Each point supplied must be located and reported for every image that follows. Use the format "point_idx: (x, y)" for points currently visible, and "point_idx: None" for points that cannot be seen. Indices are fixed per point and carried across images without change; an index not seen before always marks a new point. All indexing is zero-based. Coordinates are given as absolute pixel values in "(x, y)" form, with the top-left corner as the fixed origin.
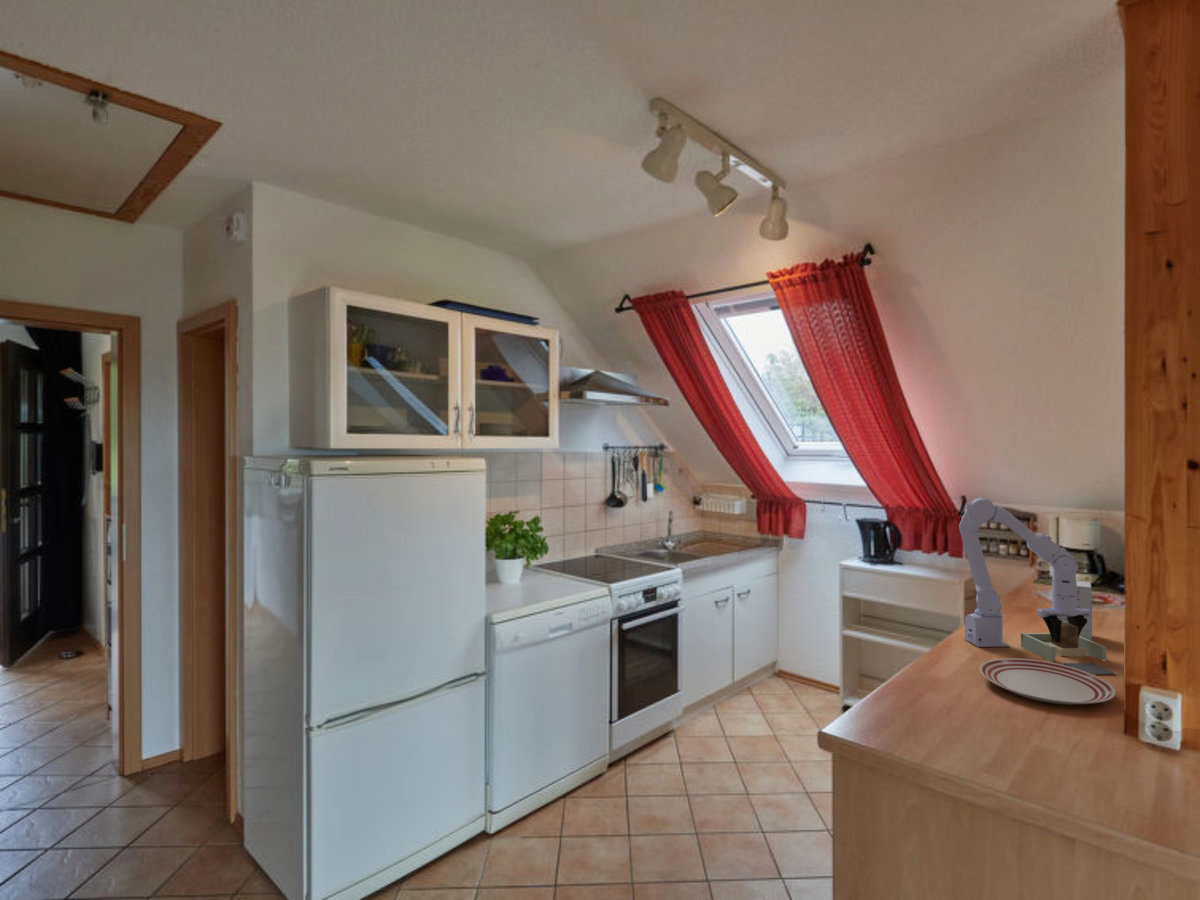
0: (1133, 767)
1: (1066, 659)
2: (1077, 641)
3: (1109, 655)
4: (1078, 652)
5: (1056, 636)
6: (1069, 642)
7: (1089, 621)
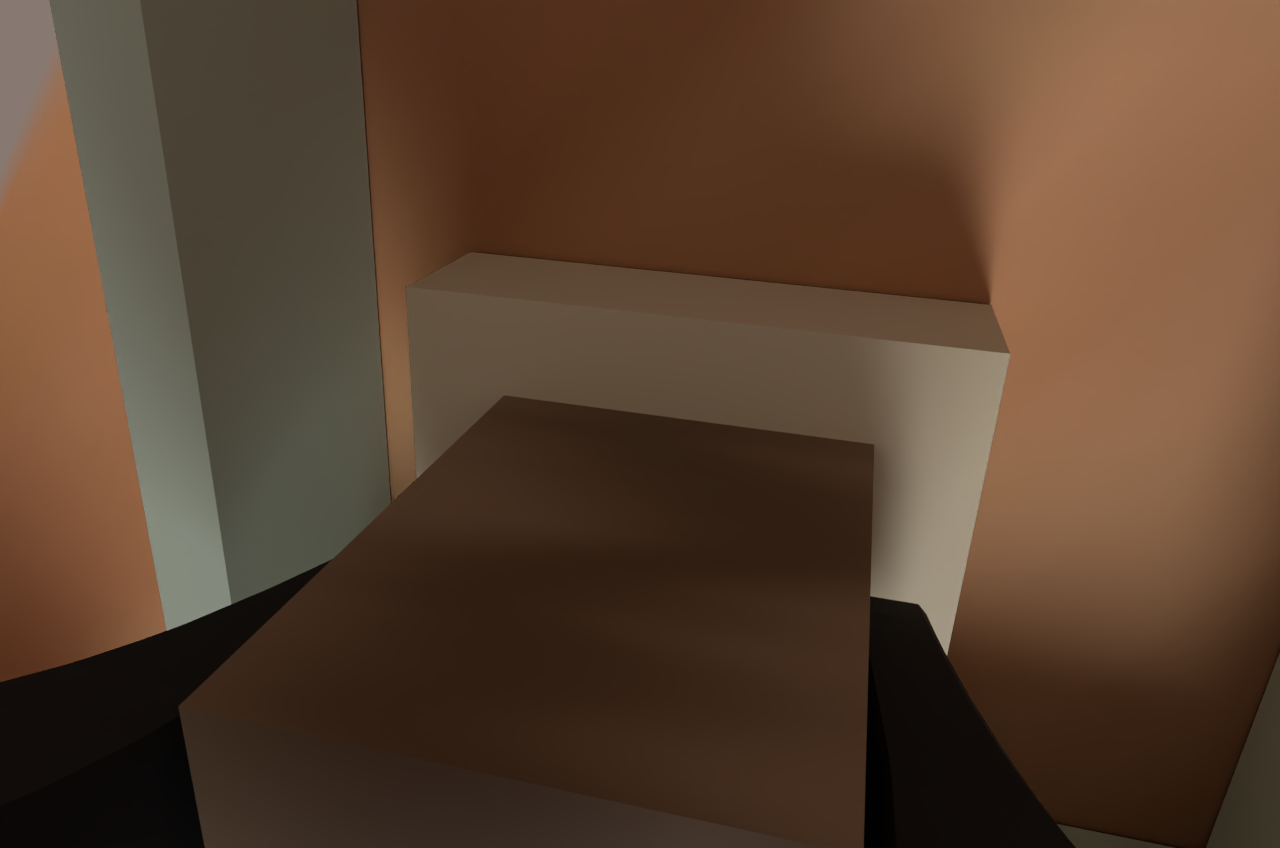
0: None
1: (1047, 112)
2: (460, 458)
3: (53, 252)
4: (594, 288)
5: (963, 700)
6: (677, 475)
7: None
